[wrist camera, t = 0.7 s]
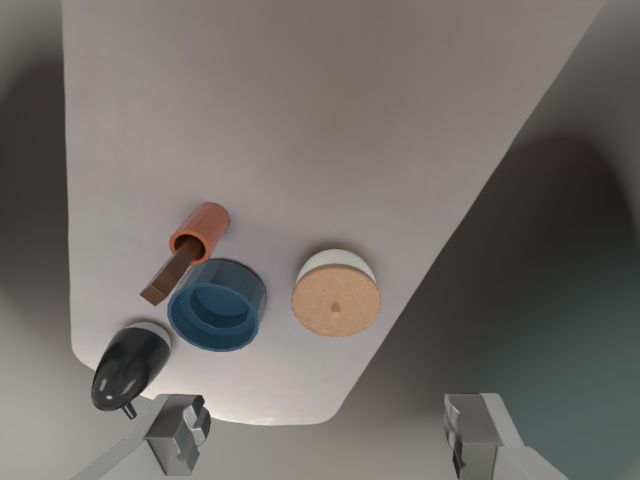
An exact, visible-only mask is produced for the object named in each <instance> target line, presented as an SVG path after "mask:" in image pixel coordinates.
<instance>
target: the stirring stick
mask: <svg viewBox="0 0 640 480" xmlns="http://www.w3.org/2000/svg"><path fill="white" fill-rule="evenodd" d="M203 245H204V244H203V242H202V241H201V240H200V239H199V238H197V237H195V236H193V235H188V237H187V238H186V239H185V240H184V241H183V243H182V244H181V245H180V246H179V247H178V249H177V250H176V251H175V252H174V253H173V255H172V256H171V257H170V258H169V259H168V261H167V262H166V263H165V264H164V265H163V267H162V268H161V269H160V270H159V271H158V273H157V274H156V275H155V276H154V277H153V279H152V280H151V281H150V282H149V283H148V285H147V286H146V287H145V288H144V289H143V291H142V292H141V293H140V295H141V296H142V297H143V298H145V299H146V300H147V301H149V302H150V303H151V304H153V305H154V306H156V305H158V304H159V303H160V302H161V301H163V300H164V299H165V298H166V297H167V296H168V295H169V293H170V292H171V291H172V289H173V288H174V286H175V285H176V283H177V282H178V281H179V279H180V278H181V276H182V275H183V274H184V272H185V271H186V269H187V268H188V266H189V265H190V264H191V262H192V261H193V259H194V258H195V257H196V255H197V254H198V252H199V251H200V249H201V248H202V247H203Z"/></svg>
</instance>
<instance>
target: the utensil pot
mask: <svg viewBox="0 0 640 480" xmlns="http://www.w3.org/2000/svg"><path fill="white" fill-rule="evenodd" d="M228 226H229V216H228V214H227V212H226V211H225V209H224V208H222V207H221V206H219V205H217V204H214V203H205V204H202V205H201V206H199V207H198V208H197V209H196V210H195V211H194V212H193V213H192V215H191V216H190V217H189V218H188V219H187V220H186V221H185V222H184V223H183V224H182V225H181V226H180V227H179V229H178V230H177V231H176V232H175V233H174V234H173V235H172V236H171V238H170V241H169V245H170V250H171V252H172V253H174V252H175V251H176V250H177V249H178V247H179V246H180V245H181V244H182V243H183V241H184V240H185V239H186V238H187V237H188V235H193V236H195V237H197V238H199V239H200V240H201V241H202V242H203V244H204V245H203V247H202V248H201V249H200V251H199V252H198V254H197V255H196V257H195V258H194V259H193V261H192V262H191V264H190V265H198V264H202V263H204V262H205V261H206V260H208V258H209V257H210V255H211V253H212V252H213V250H214V249H215V247H216V246H217V244H218V242H219V241H220V239H221V238H222V236H223V234H224V233H225V231H226V230H227V228H228Z"/></svg>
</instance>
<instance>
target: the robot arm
mask: <svg viewBox="0 0 640 480" xmlns="http://www.w3.org/2000/svg"><path fill="white" fill-rule="evenodd" d="M444 402H445V406H446V410H445V411H444V427H445V433H446V437H447V441H448V445H449V446H450V447H451V448H452V449H453V464H454V467H455V471H456V474H457V478H458V480H569V479H568V478H567V477H565V476H564V475H563V474H562V473H561V472H559V471H558V470H557V469H556V468H555V467H553V466H552V465H551V464H550V463H549V462H548V461H547V460H545V459H544V458H543V457H542V456H541V455H539V454H538V453H537V452H536V451H535V450H534V449H532V448H531V447H526V446H524V444H523V442H522V440H521V438H520V436H519V434H518V432H517V430H516V428H515V426H514V424H513V422H512V420H511V418H510V416H509V414H508V412H507V409H506V407H505V405H504V404H503V401H502V399H501V397H500V396H499V395H498V394H497V393H447V394H445V401H444ZM204 403H205V401H204V398H203V396H202V395H184V394H159V395H158V396H157V397H155V399H154V400H153V402H152V403H151V405H150V406H149V408H148V410H147V411H146V412H145V414H144V415H143V417H142V418H141V420H140V421H139V423H138V424H137V426H136V427H135V429H134V430H133V432H132V433H131V435H130V437H129V438H128V439H123V440H122V441H121V442H119V443H118V444H117V445H116V446H114V447H113V448H111V449H110V450H109V451H108V452H106V453H105V454H104V455H102V456H101V457H99V458H98V459H97V460H96V461H94V462H93V463H92V464H90V465H89V466H88V467H86V468H85V469H84V470H82V471H81V472H80V473H78V474H77V475H76V476H74V477H73V478H72V479H71V480H164V479H165V478H166V476H170V475H171V476H178V475H179V476H180V475H181V476H186V475H187V476H189V475H191V473H192V471H193V469H194V466H195V464H196V462H197V459H198V457H199V455H200V453H199V448H198V447H199V446H200V445H201V444H202V443H204V441H206V438H207V436H208V433H209V430H210V424H211V418H210V414H209V411H208V410H207V409H206V408H204V407H203V405H204Z"/></svg>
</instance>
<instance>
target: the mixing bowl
mask: <svg viewBox="0 0 640 480" xmlns="http://www.w3.org/2000/svg"><path fill="white" fill-rule="evenodd" d="M265 303H266V294H265V289H264V287H263V285H262V284H261V282H260V280H259V279H258V278H257V277H256V276H255V275H254V274H253V273H252V272H251V271H250V270H248V269H246V268H245V267H243V266H241V265H239V264H236V263H233V262H228V261H224V260H213V261H207V262H204V263H202V264H198V265H196V266H195V267H194V268H193V269H191V270H190V271H189V272H188V273H187V275H186V276H185V278H184V279H183V281H182V282H181V284H180V285H179V287H178V288H177V289H176V291H175V292H174V294H173V295H172V297H171V299H170V301H169V303H168V310H167V316H168V319H169V321H170V324H171V326H172V327H173V329H174V330H175V331H176V332H177V334H178V335H179V336H180V337H182V338H183V339H184V340H186V341H187V342H188V343H190V344H192V345H194V346H197V347H199V348H201V349H204V350H209V351H214V352H229V351H234V350H237V349H241V348H243V347H244V346H246V345H248V344H249V343H251V342H252V340H253V339H254V338H255V336H256V335H257V333H258V329H259V326H260V322H261V318H262V315H263V311H264V307H265Z"/></svg>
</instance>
